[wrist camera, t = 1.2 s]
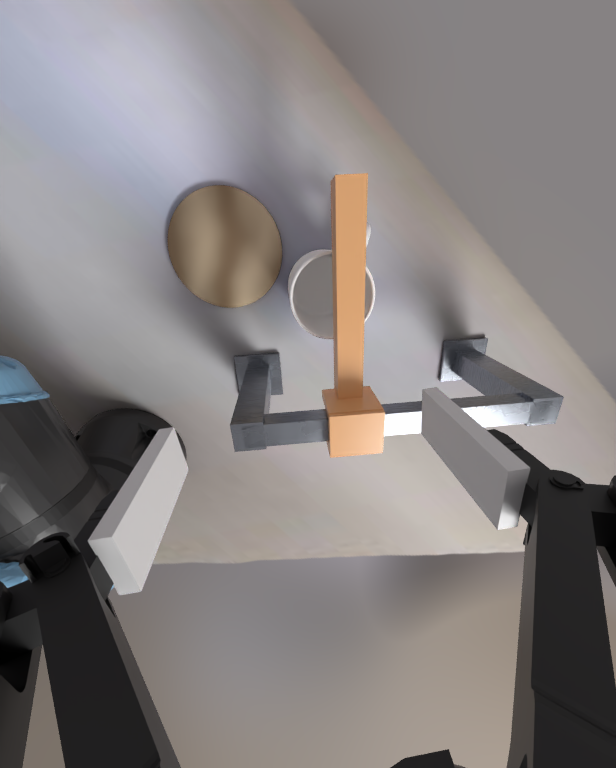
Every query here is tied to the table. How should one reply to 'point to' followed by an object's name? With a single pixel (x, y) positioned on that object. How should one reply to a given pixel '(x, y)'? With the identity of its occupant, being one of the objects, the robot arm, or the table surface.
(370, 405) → the orange bar
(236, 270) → the coaster
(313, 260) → the mug
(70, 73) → the table surface
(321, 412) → the rail frame
